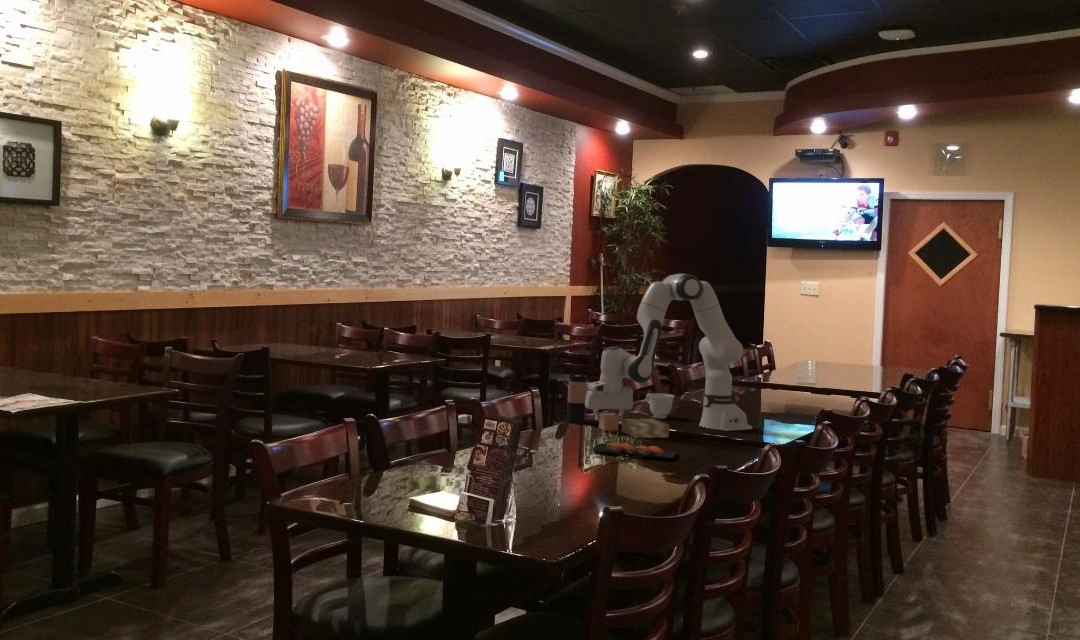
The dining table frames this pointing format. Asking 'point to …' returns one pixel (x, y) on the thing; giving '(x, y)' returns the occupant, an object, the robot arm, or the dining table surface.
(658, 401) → the teacup
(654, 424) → the birch plinth
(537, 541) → the dining table surface
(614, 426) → the terracotta cube
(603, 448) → the sushi plate
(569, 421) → the travel mug
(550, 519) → the dining table surface
